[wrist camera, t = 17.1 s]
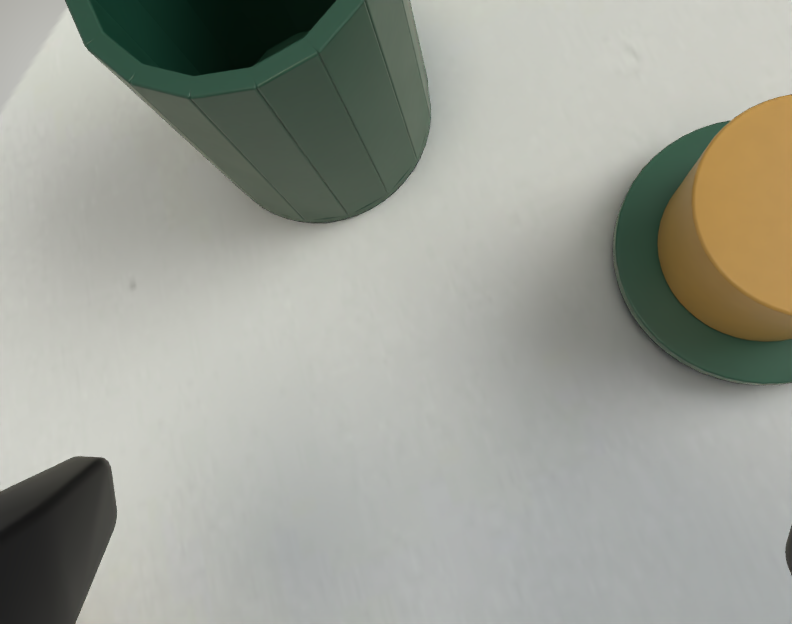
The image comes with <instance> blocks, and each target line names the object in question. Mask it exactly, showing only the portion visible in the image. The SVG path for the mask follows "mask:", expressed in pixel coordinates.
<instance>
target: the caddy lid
mask: <svg viewBox="0 0 792 624" xmlns="http://www.w3.org/2000/svg"><path fill="white" fill-rule="evenodd" d="M613 258H614V268H615V272H616V277H617V282H618V285H619V288H620V290H621V293H622V296H623V298H624V300H625V302H626V304H627V306H628V308H629V310H630V312H631V314H632V315H633V317H634V318H635V319H636V321H637V322H638V324H639V325H640V327H641V328H642V329H643V330H644V331H645V332H646V334H647V335H648V336H649V337H650V338H651V339H652V340H653V341H654V342H655V343H656V344H657V345H658V346H660V347H661V348H662V349H663V350H664V351H666V352H667V353H668V354H669V355H671V356H672V357H674V358H675V359H677V360H678V361H680V362H681V363H683V364H685V365H687V366H689V367H691V368H693V369H695V370H697V371H699V372H701V373H704V374H706V375H709V376H712V377H715V378H718V379H721V380H726V381H731V382H735V383H741V384H751V385H778V384H785V383H792V95H787V96H782V97H777V98H774V99H771V100H768V101H765V102H762V103H760V104H758V105H756V106H754V107H751V108H749V109H748V110H746V111H744V112H743V113H741V114H740V115H738V116H736V117H735V118H734V119H733V120H731V121H726V122H721V123H716V124H712V125H709V126H706V127H703V128H700V129H698V130H695V131H693V132H691V133H689V134H687V135H685V136H682V137H681V138H679V139H678V140H676V141H674V142H673V143H671V144H670V145H668V146H667V147H666V148H664V149H663V150H662V151H661V152H659V153H658V154H657V155H656V156H655V157H654V158H653V159H652V160H651V161H650V162H649V163H648V164H647V165H646V166H645V167H644V168H643V169H642V171H641V172H640V173H639V175H638V176H637V178H636V179H635V180H634V182H633V183H632V185H631V187H630V189H629V191H628V193H627V195H626V197H625V199H624V201H623V203H622V206H621V208H620V211H619V214H618V217H617V221H616V226H615V231H614V240H613Z"/></svg>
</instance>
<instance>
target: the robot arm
mask: <svg viewBox="0 0 792 624" xmlns="http://www.w3.org/2000/svg"><path fill="white" fill-rule="evenodd" d="M116 518H117V507H116V499H115V492H114V485H113V478H112V471H111V466H110V464H109V462H108V461H107V460H106V459H105V458H101V457H82V456H77V457H73V458H70V459H68V460H66V461H64V462H62V463H60V464H58V465H56V466H54V467H51V468H49V469H47V470H45V471H43V472H41V473H39V474H37V475H35V476H32V477H30V478H28V479H26V480H24V481H22V482H20V483H18V484H15V485H13V486H11V487H9V488H7V489H5V490H3V491H1V492H0V624H75V623H76V620H77V618H78V616H79V613H80V611H81V608H82V606H83V604H84V601H85V599H86V596H87V594H88V591H89V589H90V586H91V584H92V582H93V579H94V577H95V574H96V572H97V569H98V567H99V565H100V562H101V560H102V557H103V555H104V552H105V550H106V547H107V545H108V543H109V540H110V538H111V535H112V533H113V530H114V527H115V524H116ZM785 553H786V561H787V564H788V568H789V570H790V572H791V575H792V526H791V529H790V533H789V536H788V539H787V543H786V551H785Z"/></svg>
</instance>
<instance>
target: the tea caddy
mask: <svg viewBox="0 0 792 624" xmlns="http://www.w3.org/2000/svg"><path fill="white" fill-rule="evenodd" d="M65 2H66V4H67V6H68V8H69V11H70V13H71V15H72V18H73V20H74V22H75V25H76V27H77V29H78V31H79V34H80V36H81V38H82V41H83V43H84V45H85V47H86V48H87V49H88V51H89V52H91V53H92V54H93V55H94V56H95V57H96V58H97V59H98V60H99V61H100V62H101V63H103V64H104V65H105V66H106V67H107V68H108V69H109V70H110V71H111V72H112V73H113V74H115V75H116V76H117V77H118V78H119V79H120V80H121V81H122V82H123V83H124V84H125V85H127V86H128V87H129V88H130V89H131V90H132V91H133V92H134V93H135V94H136V95H138V96H139V97H140V98H141V99H142V100H143V101H144V102H145V103H146V104H147V105H148V106H150V107H151V108H152V109H153V110H154V111H155V112H156V113H157V114H158V115H159V116H160V117H162V118H163V119H164V120H165V121H166V122H167V123H168V124H169V125H170V126H171V127H172V128H174V129H175V130H176V131H177V132H178V133H179V134H180V135H181V136H182V137H183V138H185V139H186V140H187V141H188V142H189V143H190V144H191V145H192V146H193V147H194V148H195V149H197V150H198V151H199V152H200V153H201V154H202V155H203V156H204V157H205V158H206V159H207V160H209V161H210V162H211V163H212V164H213V165H214V166H215V167H216V168H217V169H218V170H219V171H221V172H222V173H223V174H224V175H225V176H226V177H227V178H228V179H229V180H230V181H232V182H233V183H234V184H235V185H236V186H237V187H238V188H240V189H241V190H242V191H243V192H244V193H245V194H247V195H248V196H249V197H250V198H251V199H252V200H253V201H255V202H256V203H257V204H259V205H260V206H261V207H262V208H264V209H266V210H268V211H270V212H272V213H274V214H276V215H279V216H281V217H284V218H287V219H291V220H295V221H300V222H311V223H322V222H333V221H338V220H343V219H347V218H350V217H353V216H356V215H359V214H361V213H363V212H365V211H367V210H369V209H371V208H373V207H375V206H376V205H378V204H379V203H381V202H383V201H384V200H385V199H386V198H388V197H389V196H390V195H391V194H393V193H394V192H395V191H396V190H397V189H398V188H399V187H400V186H401V185H402V184H403V183H404V182H405V180H406V179H407V178H408V176H409V175H410V174H411V172H412V171H413V169H414V168H415V166H416V164H417V162H418V161H419V159H420V157H421V154H422V152H423V150H424V147H425V145H426V141H427V137H428V133H429V128H430V119H431V105H430V98H429V92H428V80H427V75H426V71H425V66H424V62H423V57H422V53H421V48H420V43H419V39H418V34H417V30H416V25H415V21H414V16H413V12H412V7H411V3H410V0H65Z"/></svg>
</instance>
